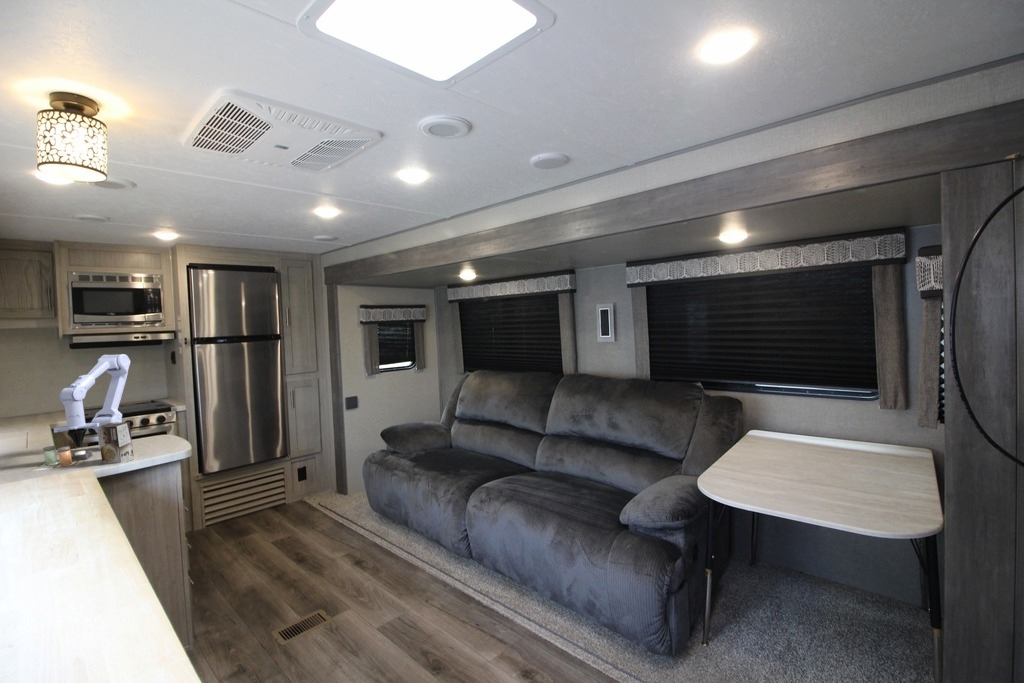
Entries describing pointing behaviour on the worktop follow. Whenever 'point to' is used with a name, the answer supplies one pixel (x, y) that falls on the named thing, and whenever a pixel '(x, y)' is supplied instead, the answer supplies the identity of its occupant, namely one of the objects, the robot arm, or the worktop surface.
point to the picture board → (75, 461)
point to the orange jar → (65, 456)
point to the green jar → (50, 455)
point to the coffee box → (115, 442)
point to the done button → (79, 452)
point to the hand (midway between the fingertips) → (79, 446)
